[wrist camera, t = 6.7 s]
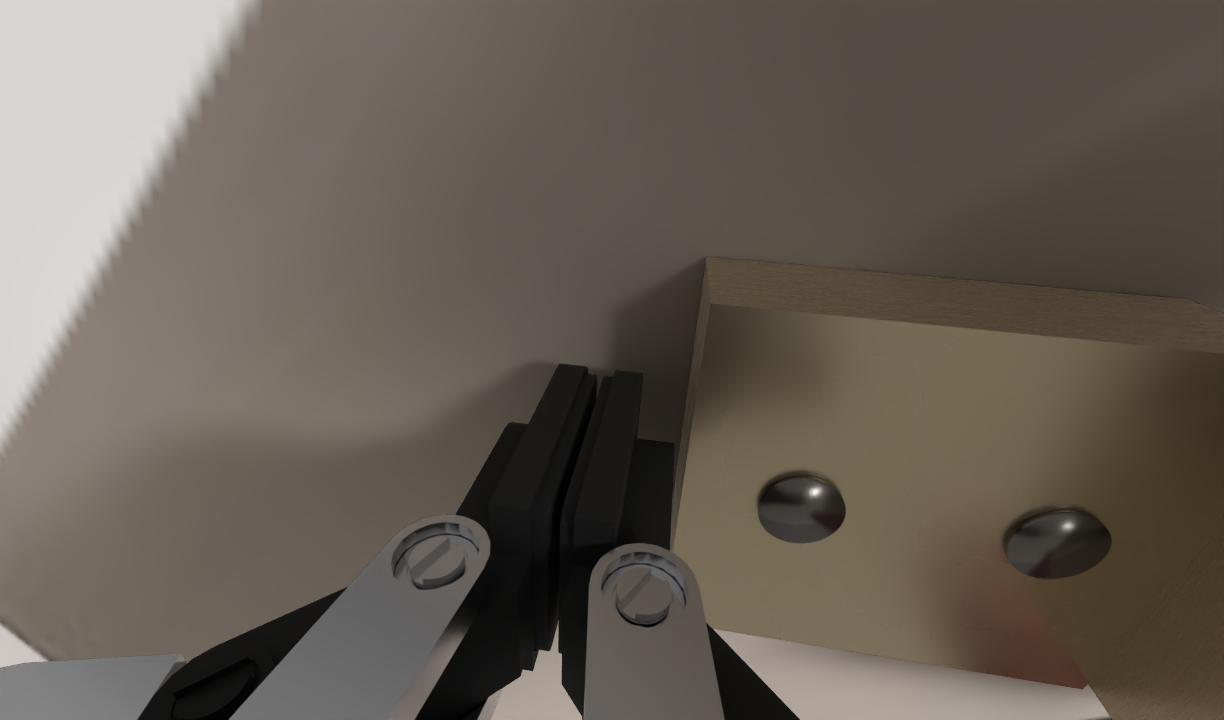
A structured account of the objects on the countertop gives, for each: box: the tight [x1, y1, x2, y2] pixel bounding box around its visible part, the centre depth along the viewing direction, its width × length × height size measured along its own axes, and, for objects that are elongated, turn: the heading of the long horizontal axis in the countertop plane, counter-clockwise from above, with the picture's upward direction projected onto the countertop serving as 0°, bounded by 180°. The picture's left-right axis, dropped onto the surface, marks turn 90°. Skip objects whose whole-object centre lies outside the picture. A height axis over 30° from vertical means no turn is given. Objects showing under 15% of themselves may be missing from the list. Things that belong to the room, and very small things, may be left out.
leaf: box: [670, 257, 1224, 689], centre depth 9 cm, size 7×8×2 cm
